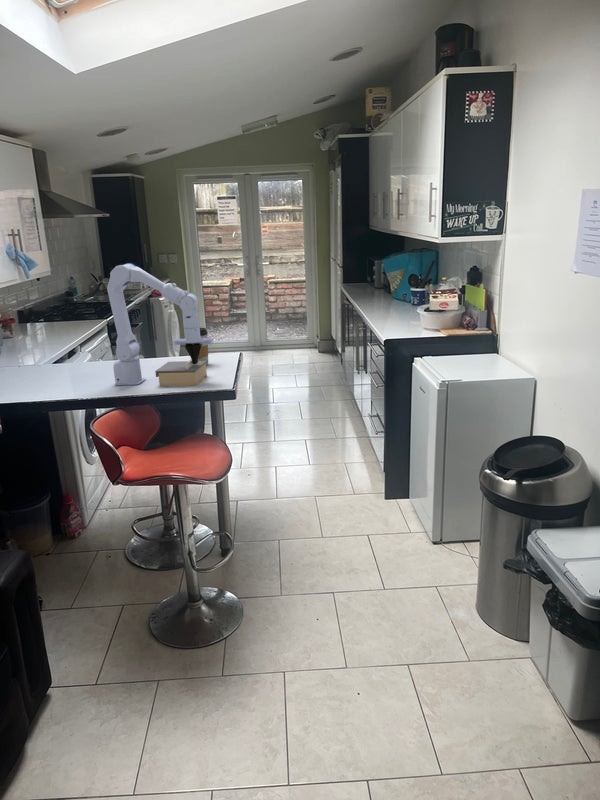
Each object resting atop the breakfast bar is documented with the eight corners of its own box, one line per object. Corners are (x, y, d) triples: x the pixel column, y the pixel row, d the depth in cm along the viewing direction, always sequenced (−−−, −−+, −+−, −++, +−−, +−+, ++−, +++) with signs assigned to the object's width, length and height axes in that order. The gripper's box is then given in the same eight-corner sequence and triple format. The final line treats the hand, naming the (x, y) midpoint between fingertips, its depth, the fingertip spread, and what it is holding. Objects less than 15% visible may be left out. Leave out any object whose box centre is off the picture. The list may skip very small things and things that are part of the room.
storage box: (159, 386, 224) (158, 373, 222) (172, 376, 237) (170, 364, 235) (196, 385, 222) (195, 372, 220) (206, 375, 235) (205, 363, 233)
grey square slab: (156, 377, 222) (154, 365, 221) (169, 367, 236) (167, 356, 235) (196, 376, 220) (194, 364, 219) (207, 366, 234) (205, 355, 233)
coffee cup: (187, 367, 251) (183, 331, 247) (195, 362, 259) (191, 327, 255) (206, 367, 249) (202, 331, 245) (214, 362, 257) (210, 327, 252)
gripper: (213, 324, 225) (216, 360, 229) (176, 326, 227) (180, 361, 231) (208, 328, 219) (211, 364, 223) (169, 329, 221) (174, 365, 225)
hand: (195, 363), depth 227 cm, fingers closed
